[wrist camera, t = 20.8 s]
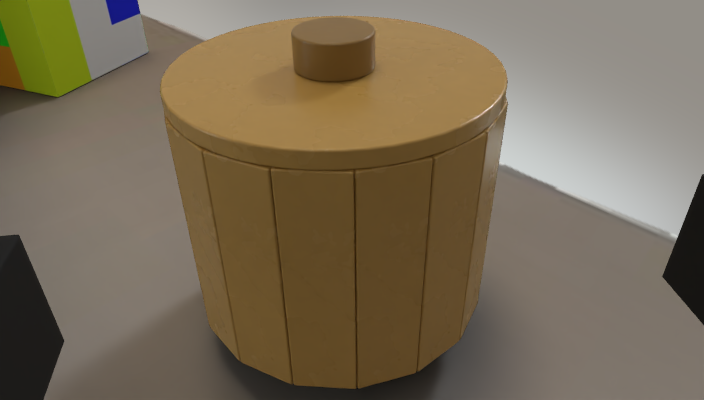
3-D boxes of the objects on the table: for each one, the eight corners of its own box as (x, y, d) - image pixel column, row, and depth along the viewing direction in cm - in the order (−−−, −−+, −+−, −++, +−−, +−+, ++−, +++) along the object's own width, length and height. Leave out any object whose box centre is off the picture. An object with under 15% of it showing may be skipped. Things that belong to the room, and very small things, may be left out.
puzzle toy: (148, 51, 50) (121, -75, 44) (58, 97, 42) (11, -49, 37) (61, 38, 53) (25, -82, 48) (-37, 77, 46) (-93, -59, 40)
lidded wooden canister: (194, 227, 26) (146, 0, 21) (412, 185, 29) (424, -26, 23) (224, 426, 18) (158, 135, 12) (529, 342, 21) (593, 70, 15)
